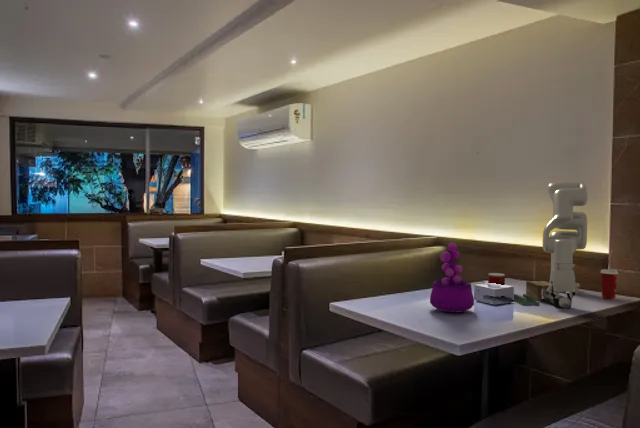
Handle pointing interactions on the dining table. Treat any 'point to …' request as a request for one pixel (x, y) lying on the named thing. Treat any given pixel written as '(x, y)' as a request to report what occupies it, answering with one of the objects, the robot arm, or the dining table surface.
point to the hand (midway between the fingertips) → (562, 306)
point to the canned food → (496, 278)
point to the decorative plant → (451, 286)
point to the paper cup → (608, 283)
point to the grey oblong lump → (563, 301)
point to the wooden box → (536, 289)
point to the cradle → (525, 299)
